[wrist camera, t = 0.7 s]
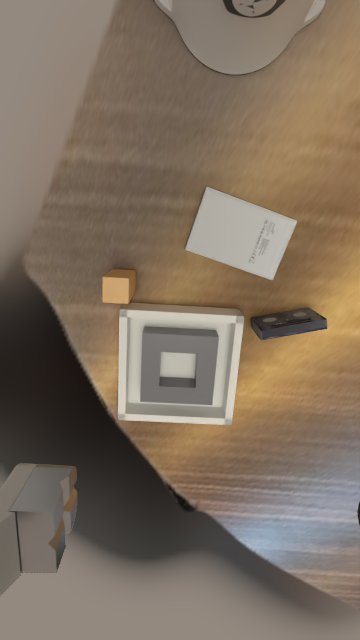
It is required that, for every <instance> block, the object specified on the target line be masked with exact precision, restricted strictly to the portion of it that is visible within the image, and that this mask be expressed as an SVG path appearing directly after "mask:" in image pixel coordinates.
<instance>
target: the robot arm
mask: <svg viewBox="0 0 360 640" xmlns="http://www.w3.org/2000/svg"><path fill="white" fill-rule="evenodd" d="M154 1H155V3H156V4H157V5H158V7H159V8H160V9H161V10H162V11H163V12H164V13H166V14H167V15H168V16H169V17H170V18H171V19H172V20H173V21H174V23H175V25H176V27H177V29H178V31H179V33H180V35H181V37H182V39H183V41H184V43H185V44H186V46H187V47H188V49H189V50H190V51H191V53H192V54H193V55H194V56H195V57H196V58H197V59H198V60H199V61H201V62H202V63H203V64H204V65H206V66H208V67H209V68H211V69H213V70H216V71H218V72H221V73H226V74H235V75H237V74H246V73H251V72H254V71H256V70H259V69H261V68H263V67H265V66H266V65H268V64H269V63H271V62H272V61H273V60H275V59H276V58H277V57H278V56H279V55H280V54H281V53H282V52H283V50H284V49H285V48H286V47H287V45H288V44H289V42H290V41H291V40H292V38H293V37H294V35H295V34H296V33H297V32H298V31H299V30H300V29H302V28H303V27H305V26H306V25H308V24H310V23H311V22H312V21H314V20H315V19H316V18H317V17H318V16H319V15H320V13H321V12H322V10H323V8H324V5H325V0H154ZM76 479H77V475H76V468H75V467H74V466H60V465H43V464H38V465H36V464H19V465H17V466H16V467H15V468H14V470H13V471H12V473H11V474H10V476H9V477H8V479H7V480H6V482H5V483H4V485H3V486H2V488H1V489H0V596H1V595H2V594H3V593H4V592H5V591H6V590H7V589H8V588H9V587H10V586H11V585H12V584H13V583H14V582H15V581H16V580H17V579H18V578H19V576H21V573H56V572H57V570H58V568H59V565H60V562H61V558H62V556H63V553H64V550H65V547H66V545H65V536H66V535H67V534H68V533H69V532H71V530H72V526H73V523H74V520H75V515H76V509H77V491H76V490H75V489H74V488H73V487H74V484H75V482H76ZM357 513H358V521H359V525H360V502H359V506H358V511H357Z"/></svg>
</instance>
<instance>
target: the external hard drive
mask: <svg viewBox="0 0 360 640" xmlns="http://www.w3.org/2000/svg"><path fill="white" fill-rule="evenodd" d="M296 223H297V221H296V220H294V219H291V218H288V217H286V216H283V215H281V214H278V213H275V212H273V211H270V210H268V209H265V208H262V207H260V206H257V205H254V204H252V203H249V202H246V201H244V200H241V199H239V198H236V197H233V196H231V195H228V194H225V193H223V192H220V191H217V190H215V189H212V188H209V187H206V189H205V191H204V194H203V197H202V200H201V203H200V206H199V209H198V212H197V215H196V218H195V221H194V224H193V226H192V229H191V232H190V235H189V238H188V241H187V244H186V247H185V250H187V251H190V252H193V253H196V254H198V255H201V256H204V257H207V258H210V259H212V260H215V261H218V262H221V263H224V264H227V265H229V266H232V267H235V268H238V269H241V270H244V271H247V272H249V273H252V274H255V275H258V276H261V277H264V278H267V279H269V280H273V278H274V276H275V273H276V271H277V268H278V266H279V264H280V261H281V259H282V257H283V254H284V252H285V249H286V247H287V245H288V242H289V240H290V238H291V235H292V233H293V231H294V228H295V226H296Z"/></svg>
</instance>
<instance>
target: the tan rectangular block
mask: <svg viewBox="0 0 360 640" xmlns="http://www.w3.org/2000/svg"><path fill="white" fill-rule="evenodd" d="M135 282H136V270H123V269H113V270H111V271H110V272H109V273H107V274H106V275H105V276H103V302H104V303H122V304H129V302H130V300H131V299H132V297H133V295H134V293H135Z"/></svg>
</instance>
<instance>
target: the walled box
mask: <svg viewBox="0 0 360 640" xmlns="http://www.w3.org/2000/svg"><path fill="white" fill-rule="evenodd" d="M243 324H244V315H243V314H242V312H241V311H240V310H239V309H234V308H217V307H199V306H182V305H165V304H147V303H130V302H129V304H123V305H122V306H121V308H120V309H119V382H118V420H133V421H154V422H176V423H197V424H218V425H231V424H232V416H233V408H234V399H235V391H236V383H237V374H238V366H239V358H240V349H241V341H242V333H243Z"/></svg>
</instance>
